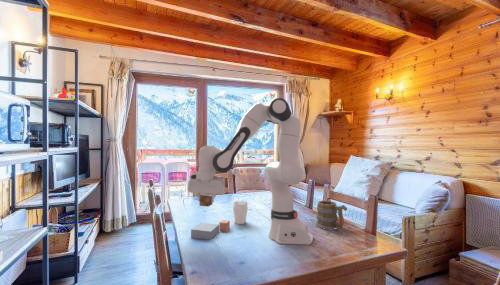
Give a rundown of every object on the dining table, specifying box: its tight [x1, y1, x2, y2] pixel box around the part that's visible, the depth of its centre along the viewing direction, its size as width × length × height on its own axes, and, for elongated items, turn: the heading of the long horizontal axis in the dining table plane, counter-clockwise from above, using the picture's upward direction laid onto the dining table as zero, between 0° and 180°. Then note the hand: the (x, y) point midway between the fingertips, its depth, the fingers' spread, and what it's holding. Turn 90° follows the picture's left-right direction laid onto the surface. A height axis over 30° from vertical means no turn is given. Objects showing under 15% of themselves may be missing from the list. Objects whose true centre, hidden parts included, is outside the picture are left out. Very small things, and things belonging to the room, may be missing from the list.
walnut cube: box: [199, 193, 213, 207], centre depth 125 cm, size 5×5×5 cm
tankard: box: [315, 200, 348, 230], centre depth 137 cm, size 20×13×15 cm, turn 27°
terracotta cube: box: [218, 219, 231, 232], centre depth 133 cm, size 4×4×4 cm
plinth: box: [190, 222, 220, 240], centre depth 125 cm, size 11×11×4 cm
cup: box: [232, 200, 249, 225], centre depth 146 cm, size 9×9×12 cm
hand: (206, 201), depth 125 cm, fingers closed on walnut cube, 5 cm apart
